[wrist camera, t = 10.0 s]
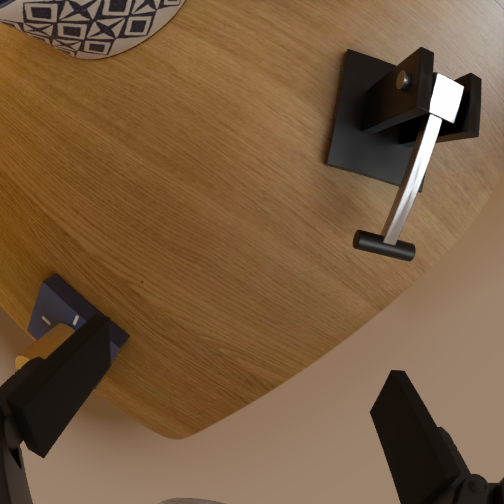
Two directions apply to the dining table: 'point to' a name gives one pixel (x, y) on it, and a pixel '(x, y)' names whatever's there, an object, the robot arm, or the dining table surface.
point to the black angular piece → (391, 114)
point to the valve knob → (45, 344)
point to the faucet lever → (414, 172)
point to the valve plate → (68, 313)
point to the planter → (89, 23)
